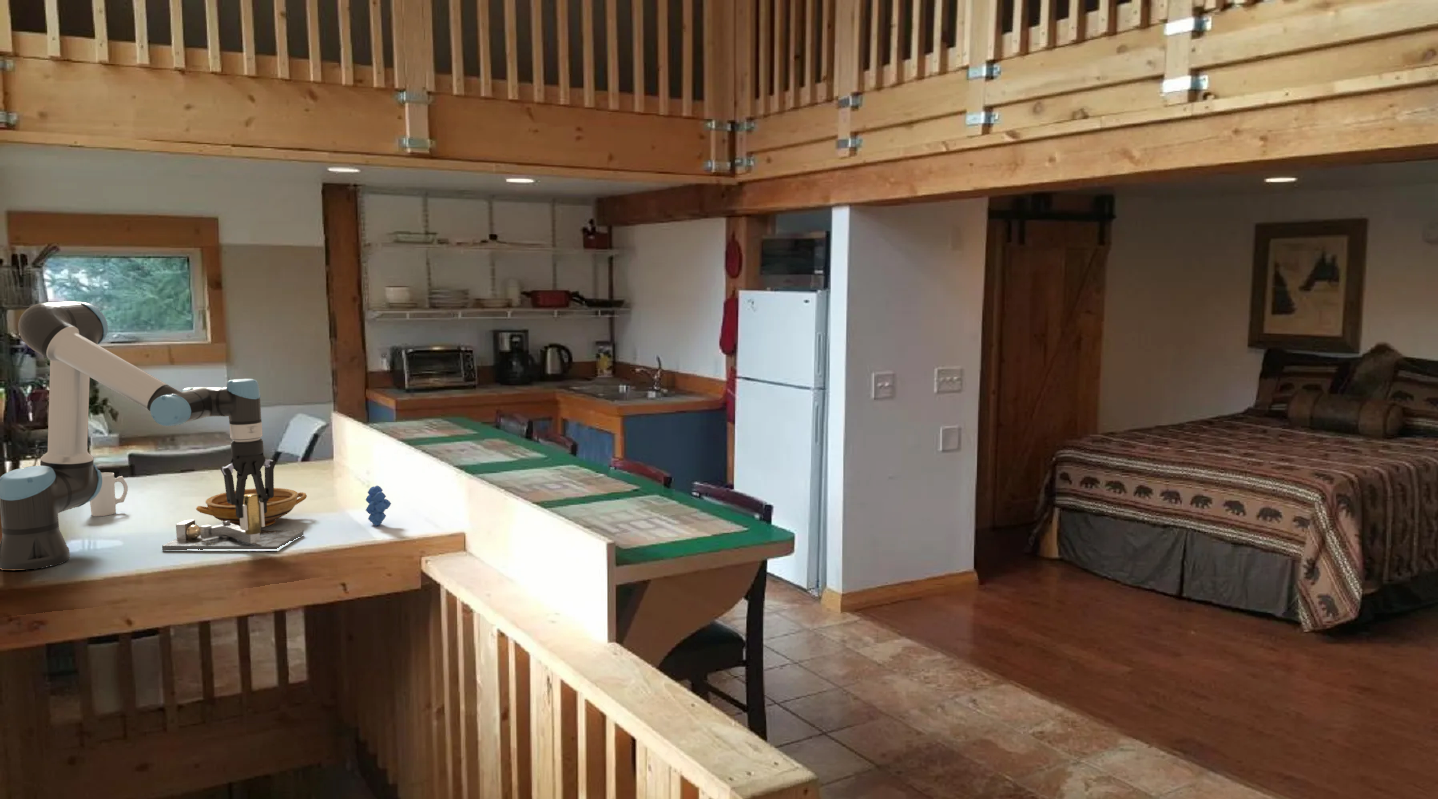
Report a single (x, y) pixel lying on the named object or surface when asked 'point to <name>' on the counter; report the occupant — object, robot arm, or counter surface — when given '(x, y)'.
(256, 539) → the lever
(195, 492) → the counter surface
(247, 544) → the base
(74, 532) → the counter surface
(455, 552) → the counter surface
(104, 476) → the mug
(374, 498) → the grapes
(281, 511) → the ceramic bowl
